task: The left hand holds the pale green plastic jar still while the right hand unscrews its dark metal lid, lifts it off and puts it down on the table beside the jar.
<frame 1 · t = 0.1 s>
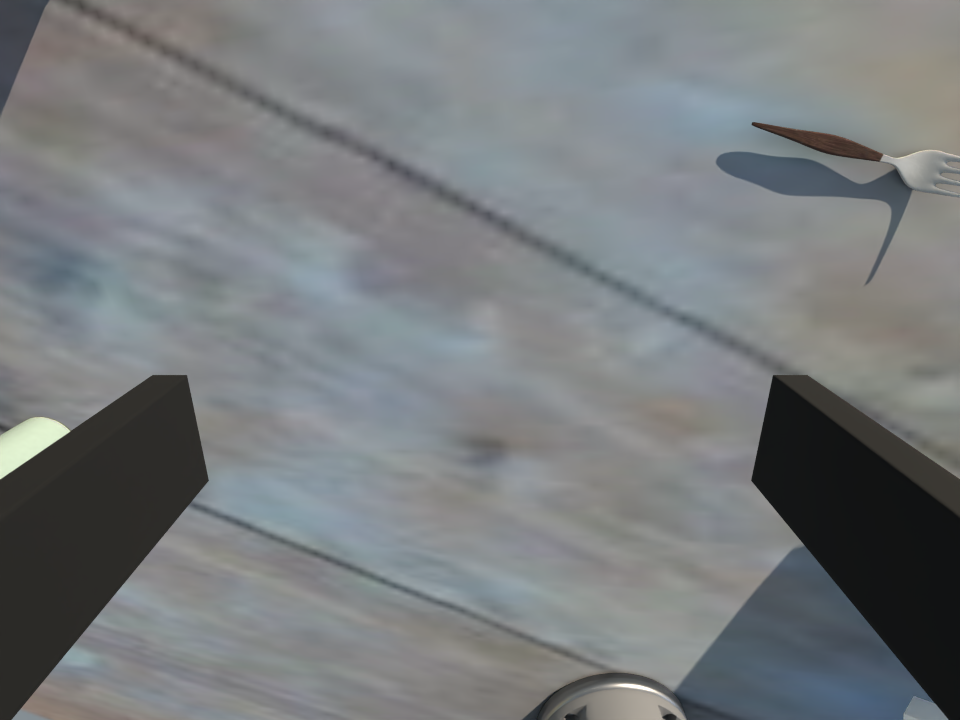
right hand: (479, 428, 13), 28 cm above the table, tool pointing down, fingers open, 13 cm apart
fork: (858, 153, 37), on the table
jar: (48, 443, 44), on the table
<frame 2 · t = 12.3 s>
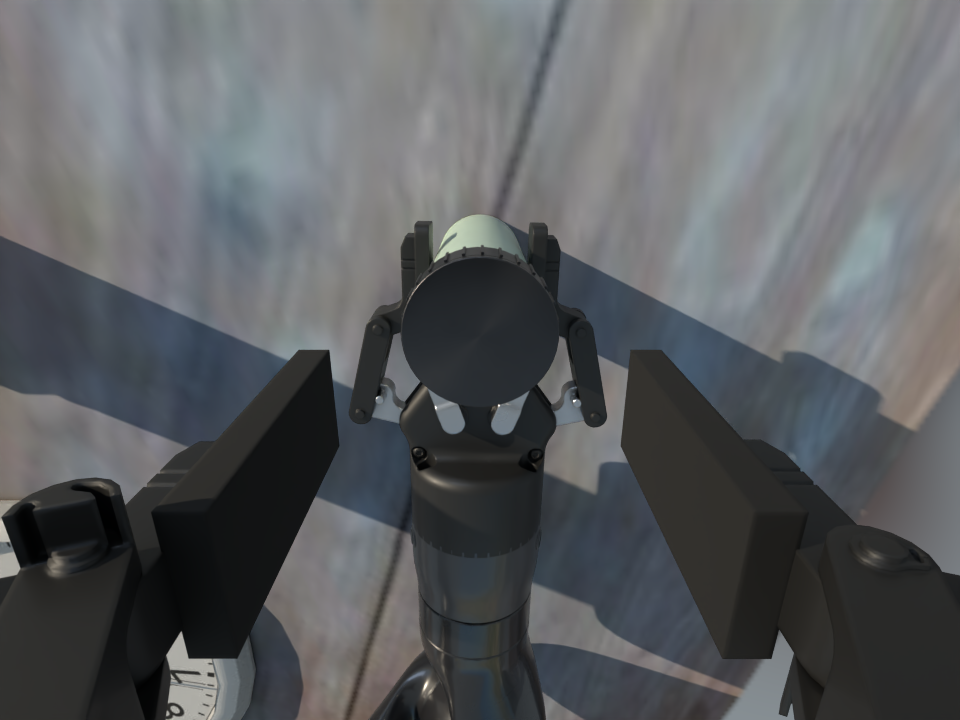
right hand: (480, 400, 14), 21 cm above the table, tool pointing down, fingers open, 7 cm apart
left hand: (481, 225, 26), fingers closed on jar, 5 cm apart
lid: (480, 333, 19), point 15 cm above the table, screwed on, not yet turned
wall clock: (73, 650, 45), on the table
jar: (480, 255, 33), on the table, touching left hand
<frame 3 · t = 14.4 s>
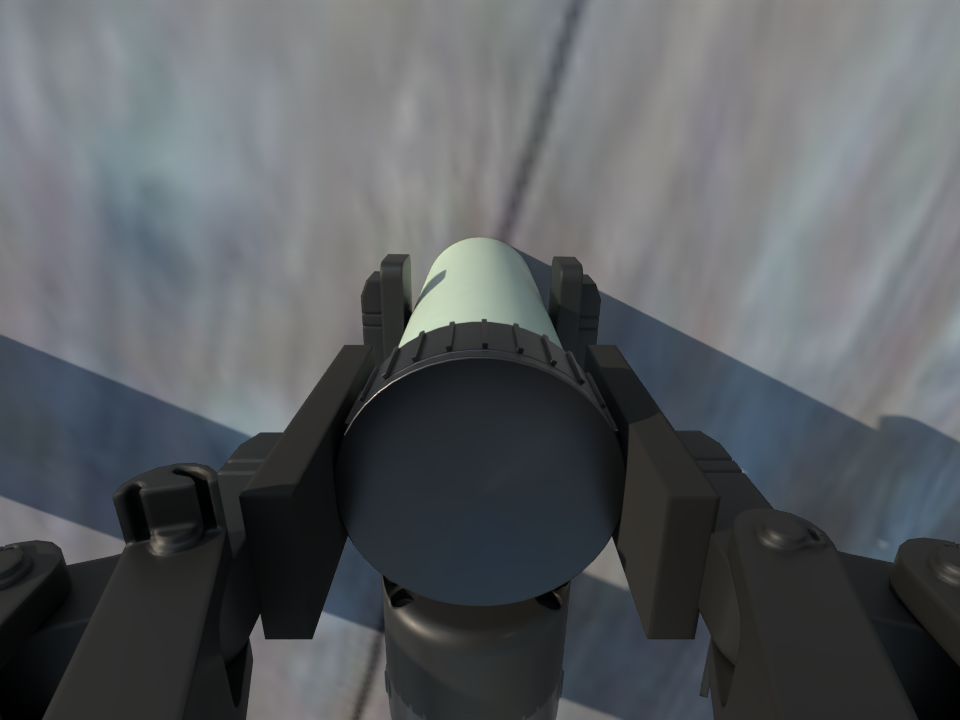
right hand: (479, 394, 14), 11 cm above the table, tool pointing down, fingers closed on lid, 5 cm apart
lid: (480, 483, 10), point 15 cm above the table, screwed on, not yet turned, touching right hand
jar: (480, 291, 25), on the table, touching left hand
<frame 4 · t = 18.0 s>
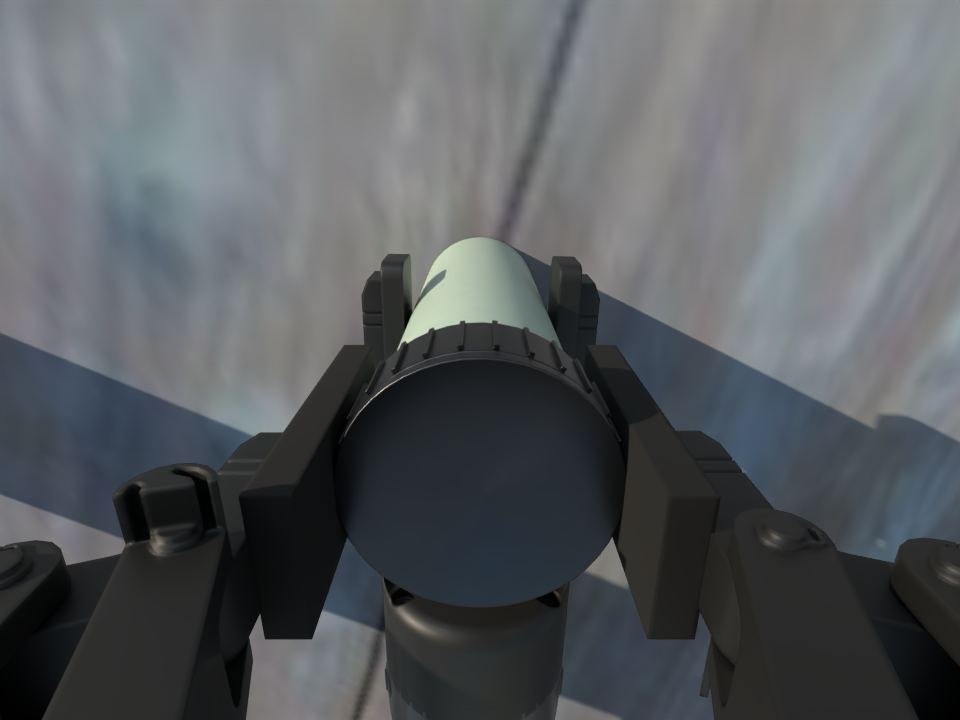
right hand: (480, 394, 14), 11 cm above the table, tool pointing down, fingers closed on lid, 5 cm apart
lid: (480, 484, 10), point 15 cm above the table, turned 116° so far, risen 0.1 cm, still on its thread, touching right hand
jar: (479, 291, 25), on the table, touching left hand
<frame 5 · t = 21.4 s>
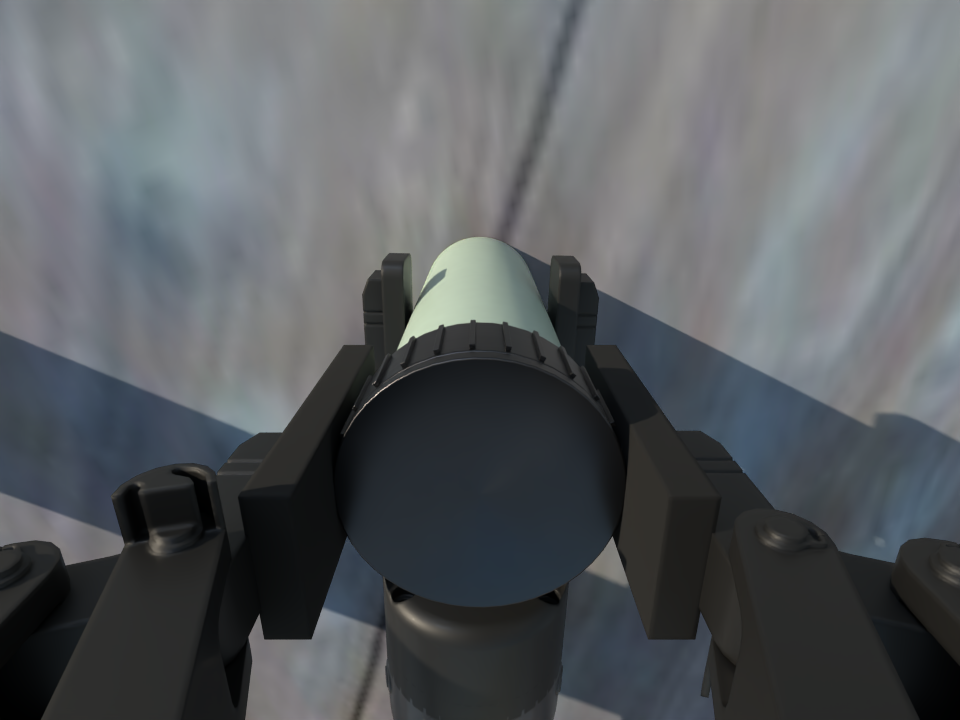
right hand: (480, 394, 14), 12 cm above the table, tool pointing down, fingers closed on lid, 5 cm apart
lid: (479, 484, 10), point 16 cm above the table, turned 231° so far, risen 0.3 cm, still on its thread, touching right hand
jar: (479, 290, 25), on the table, touching left hand
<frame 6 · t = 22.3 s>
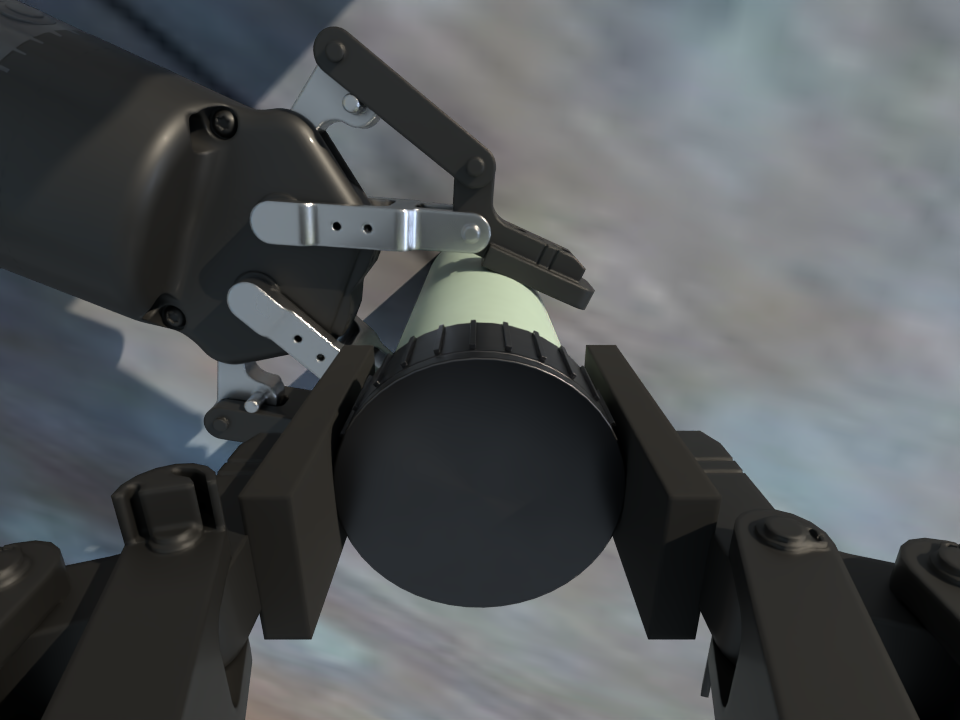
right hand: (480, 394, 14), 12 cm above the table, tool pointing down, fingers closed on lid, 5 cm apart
left hand: (546, 364, 19), fingers closed on jar, 5 cm apart
lid: (479, 484, 10), point 16 cm above the table, off its thread, touching right hand
jar: (479, 289, 25), on the table, touching left hand
when the right hand's fingers open (0 cm above the table, at t = 28.4 s): lid drops 3 cm, point 2 cm above the table.
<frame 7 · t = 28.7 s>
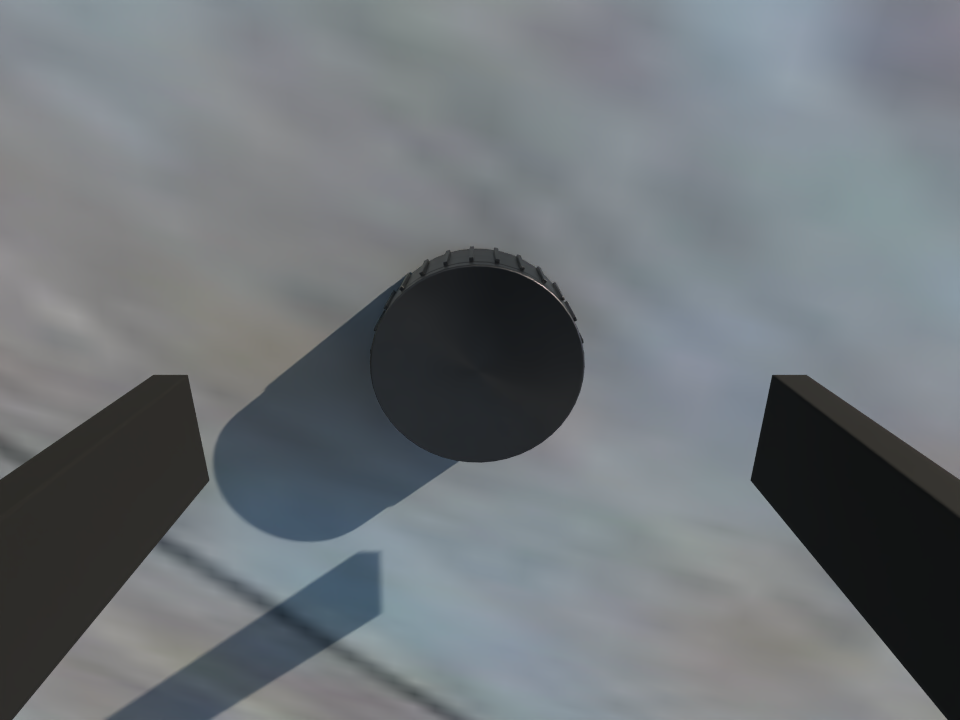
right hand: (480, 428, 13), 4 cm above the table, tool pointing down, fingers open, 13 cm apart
lid: (477, 365, 14), point 2 cm above the table, off its thread
when the left hand's fingers open (7 cm above the table, at t = 29.0 s): jar stays where it is, on the table.
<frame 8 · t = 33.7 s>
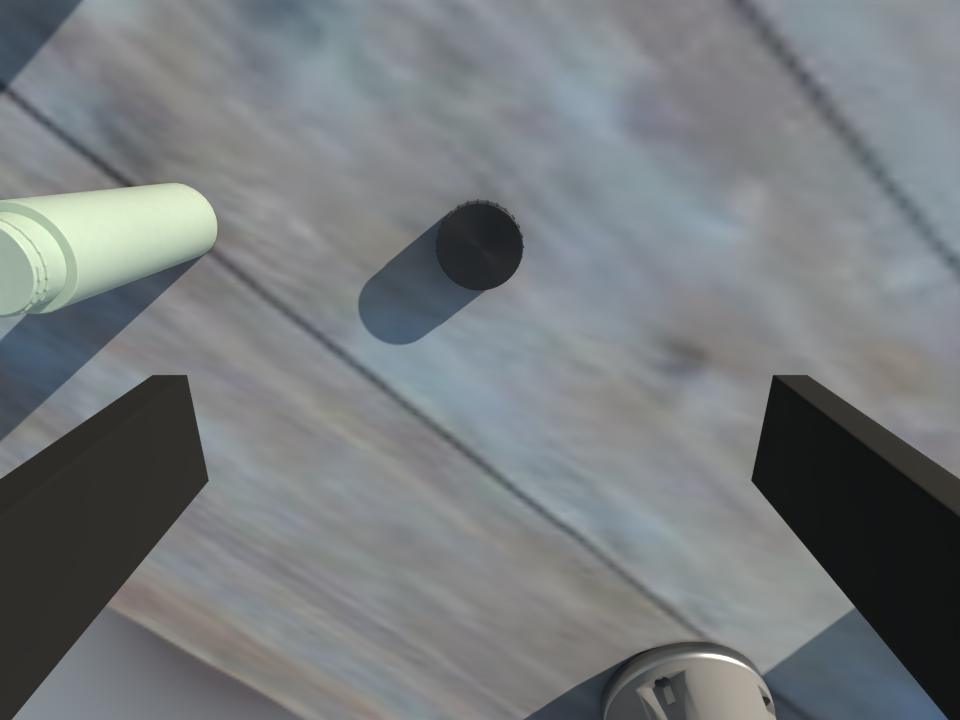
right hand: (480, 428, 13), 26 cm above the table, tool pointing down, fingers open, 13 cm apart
lid: (479, 247, 35), point 2 cm above the table, off its thread
jar: (180, 221, 36), on the table
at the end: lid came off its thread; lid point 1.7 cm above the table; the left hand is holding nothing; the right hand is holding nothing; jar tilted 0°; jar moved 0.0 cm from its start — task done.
